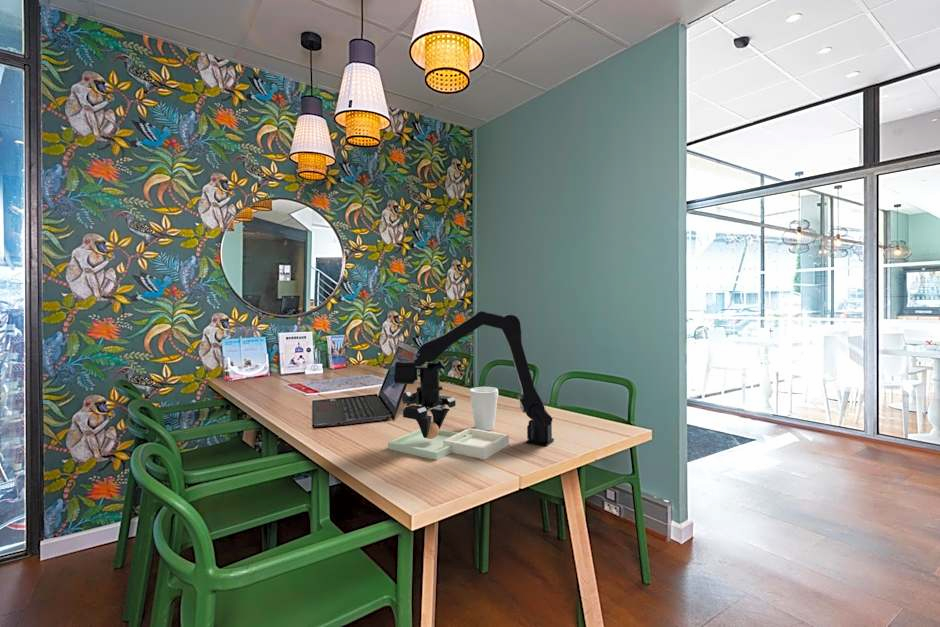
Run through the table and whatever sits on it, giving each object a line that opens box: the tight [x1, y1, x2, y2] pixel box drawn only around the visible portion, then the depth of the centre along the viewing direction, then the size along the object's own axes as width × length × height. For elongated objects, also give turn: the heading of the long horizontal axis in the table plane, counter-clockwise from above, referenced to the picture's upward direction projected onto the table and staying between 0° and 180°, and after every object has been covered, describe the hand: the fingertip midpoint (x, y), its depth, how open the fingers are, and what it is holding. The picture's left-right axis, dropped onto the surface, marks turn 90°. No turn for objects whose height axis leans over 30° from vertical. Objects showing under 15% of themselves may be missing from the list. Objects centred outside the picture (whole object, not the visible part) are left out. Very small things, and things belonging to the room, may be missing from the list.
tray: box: [387, 428, 472, 461], centre depth 135 cm, size 18×18×2 cm
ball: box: [427, 421, 439, 439], centre depth 135 cm, size 5×5×5 cm
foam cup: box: [469, 386, 499, 431], centre depth 151 cm, size 10×9×13 cm
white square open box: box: [443, 427, 510, 460], centre depth 132 cm, size 14×14×3 cm
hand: (430, 435), depth 135 cm, fingers closed on ball, 5 cm apart
